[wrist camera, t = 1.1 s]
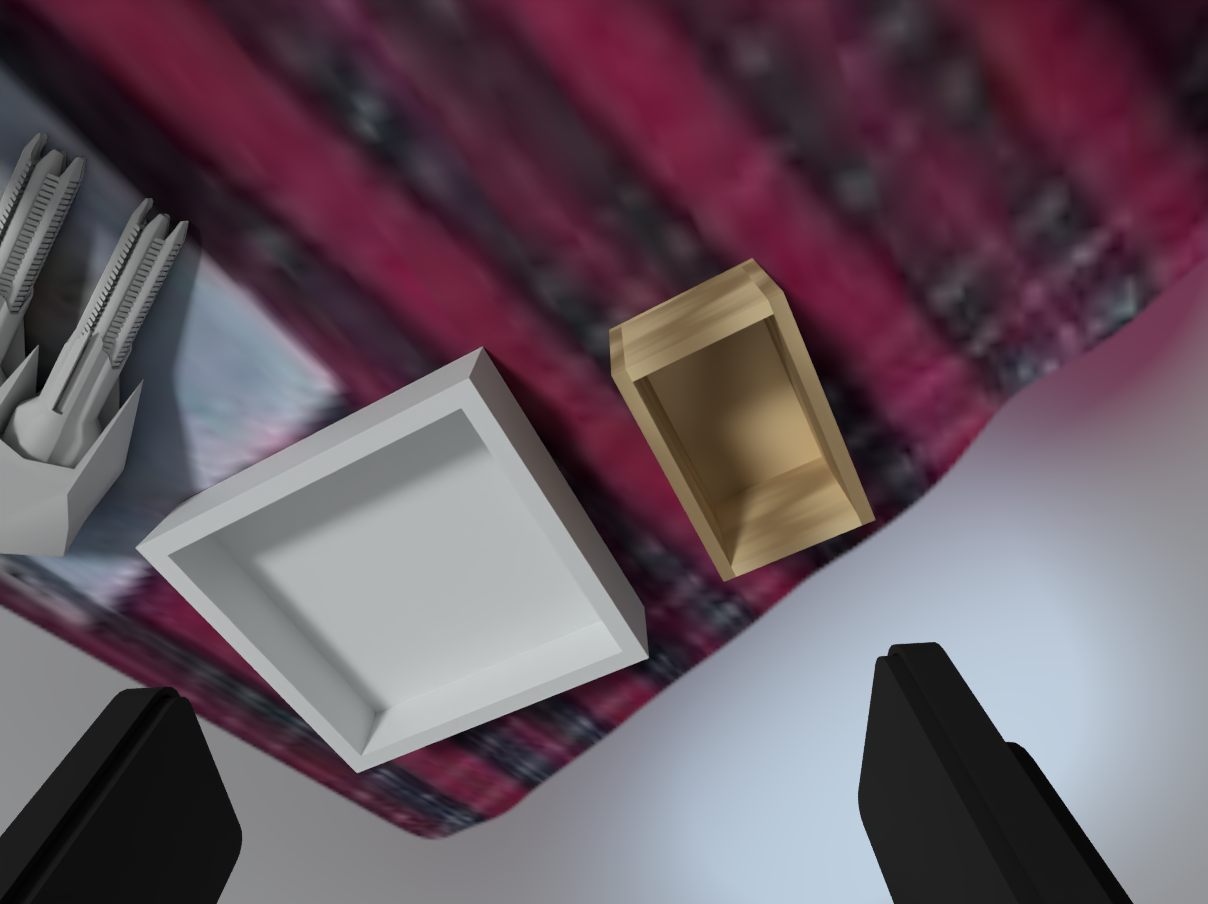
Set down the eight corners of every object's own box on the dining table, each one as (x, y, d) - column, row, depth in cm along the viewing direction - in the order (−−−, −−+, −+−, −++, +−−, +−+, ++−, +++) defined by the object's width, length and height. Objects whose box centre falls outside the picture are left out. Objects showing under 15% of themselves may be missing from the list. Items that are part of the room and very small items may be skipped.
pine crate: (751, 257, 31) (783, 291, 26) (833, 455, 36) (875, 519, 30) (609, 328, 33) (611, 375, 27) (705, 511, 37) (723, 581, 32)
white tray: (482, 346, 33) (468, 377, 29) (644, 606, 40) (649, 658, 36) (180, 502, 36) (135, 547, 33) (376, 716, 43) (356, 773, 40)
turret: (255, 245, 33) (213, 252, 29) (81, 569, 37) (21, 619, 33) (34, 107, 30) (-51, 92, 26) (-126, 474, 35) (-222, 514, 30)
